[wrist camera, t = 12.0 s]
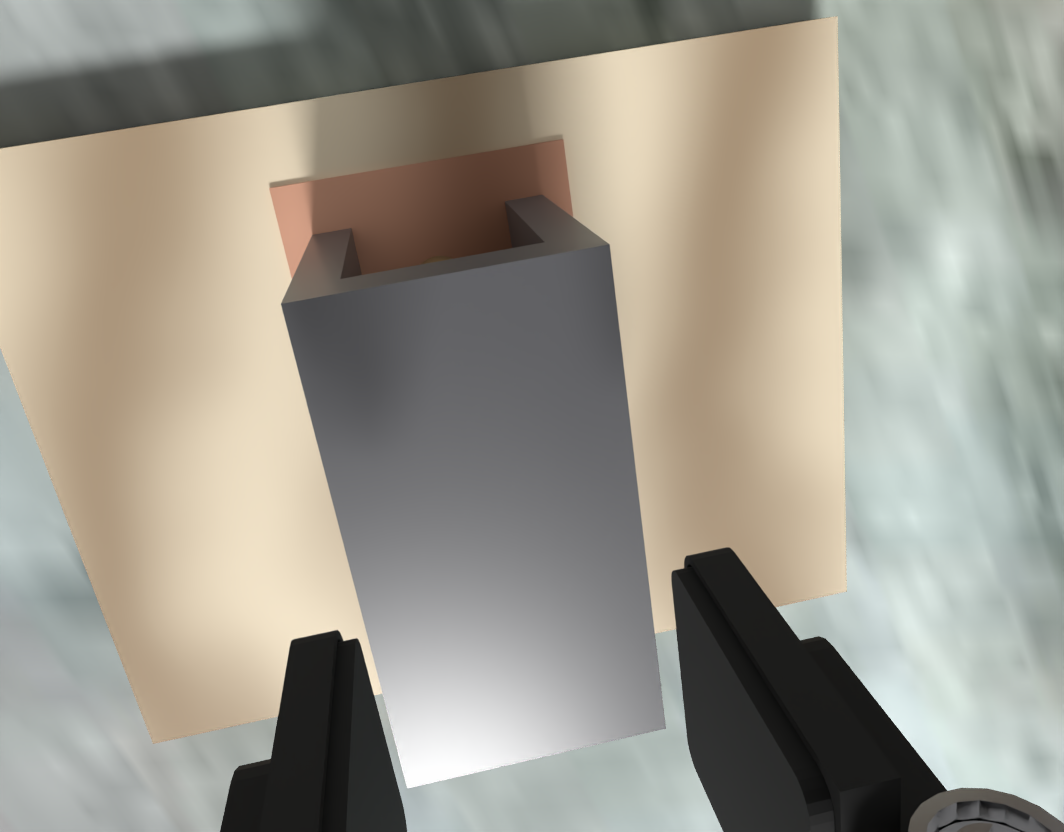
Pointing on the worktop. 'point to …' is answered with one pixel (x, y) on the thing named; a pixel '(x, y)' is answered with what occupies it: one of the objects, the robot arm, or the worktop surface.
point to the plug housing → (485, 490)
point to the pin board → (408, 240)
